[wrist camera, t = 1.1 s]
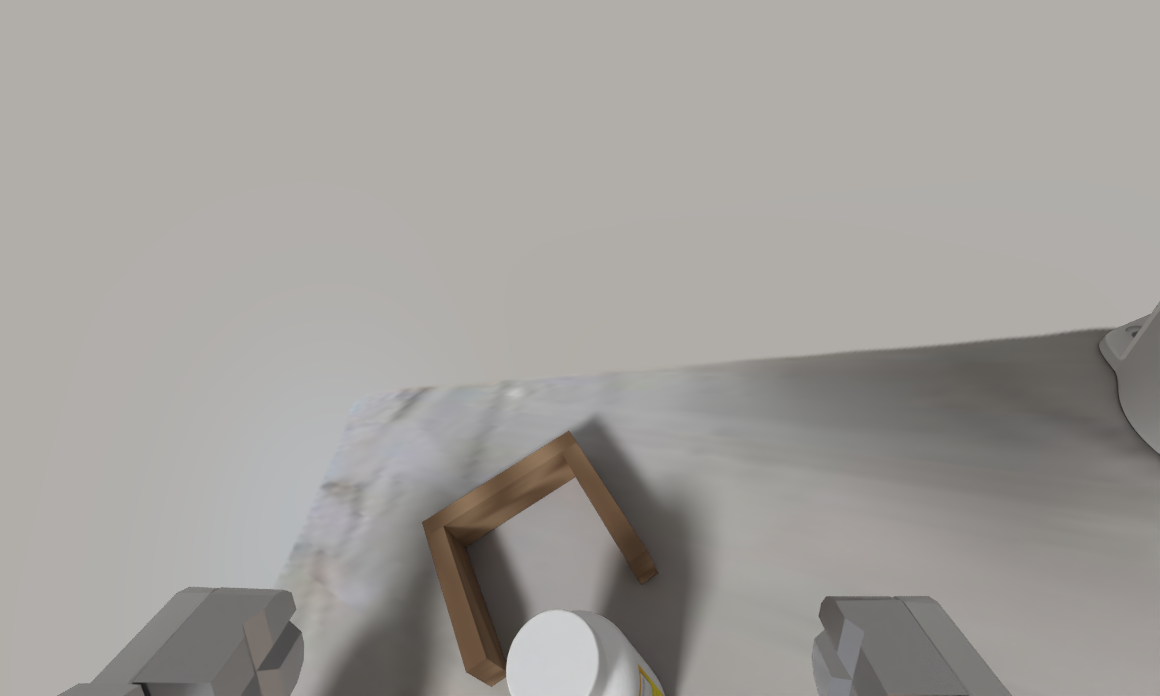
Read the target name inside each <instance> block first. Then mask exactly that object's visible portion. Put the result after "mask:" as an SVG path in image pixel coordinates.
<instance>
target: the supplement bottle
mask: <svg viewBox="0 0 1160 696" xmlns="http://www.w3.org/2000/svg"><path fill="white" fill-rule="evenodd" d="M506 677H507V684H508V688H509V691H510V694H511V696H665V694H664V691H663V688H662V686H661V684H660V682H659V680H658V678H657V677H656V675H655V674H654V672H653V671H652V670H651V668H650V667H649V666H648V664H647V663H646V662H645V661H644V659H643V658H642V657H641V656H640V655H639V653H638V652H637V651H636V650H635V648H634V647H633V646H632V645H631V643H630V642H629V641H628V640H627V638H626V637H625V636H624V634H623V633H622V632H621V631H620V630H619V628H618V627H617V626H615V625H614V624H613V623H612V622H611V621H609V620H608V619H606V618H605V617H603V616H601V615H598V614H596V613H593V612H588V611H568V610H562V609H553V610H548V611H544V612H542V613H540V614H538V615H536V616H534V617H533V618H532V619H530V620H529V621H528V622H527V623H526V624H525V625H524V626H523V627H522V628H521V629H520V631H519V632H518V633H517V635H516V637H515V638H514V640H513V642H512V645H511V647H510V650H509V654H508V658H507V665H506Z"/></svg>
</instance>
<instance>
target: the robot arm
mask: <svg viewBox="0 0 1160 696" xmlns="http://www.w3.org/2000/svg"><path fill="white" fill-rule="evenodd" d="M1099 348H1100V351H1101V353H1102V354H1103V356H1104V358H1105V359H1106V360H1107V362H1108V363H1109V364H1110V366H1111V367H1112V368H1113V369H1114V371H1115V372H1116V375H1117V378H1118V389H1119V398H1120V403H1121V406H1122V408H1123V411H1124V413H1125V415H1126V417H1127V419H1128V420H1129V422H1130V423H1131V425H1132V426H1133V428H1134V429H1135V430H1136V431H1137V433H1138V434H1139V435H1140V436H1141V437H1142V438H1143V439H1144V440H1145V441H1146V442H1147V443H1148V444H1149V445H1150V446H1151V447H1152V448H1153V449H1154V450H1155V451H1156V452H1157V453H1159V454H1160V302H1159V303H1158V305H1157V306H1156V308H1155V309H1154V310H1153V312H1152V313H1151V314H1150V315H1147V316H1145V317H1143V318H1140V319H1138V320H1136V321H1133V322H1131V323H1128V324H1126V325H1124V326H1121V327H1119V328H1117V329H1114V330H1112V331H1110V332H1108V333H1107V334H1106V335H1105V337H1104V338H1103V339H1102V340H1101V342H1100V343H1099ZM295 611H296V606H295V603H294V599H293V596H292V593H291V592H288V591H285V590H273V589H246V588H202V587H201V588H200V587H188V588H186V589H184V590H182V591H180V592H178V593H176V595H174V597H172V599H171V600H170V601H169V602H168V603H167V604H166V605H165V606H164V607H163V608H162V609H161V610H160V611H159V612H158V613H157V614H156V615H155V616H154V617H153V618H152V619H151V620H150V622H149V623H148V624H147V625H146V626H145V627H144V628H143V629H142V630H141V631H140V632H139V633H138V634H137V635H136V636H135V637H134V638H133V639H132V640H131V641H130V642H129V643H128V645H127V646H126V647H125V648H124V649H123V650H122V651H121V652H120V653H119V654H118V655H117V656H116V657H115V658H114V659H113V660H112V661H111V662H110V663H109V664H108V666H106V667H105V669H104V670H103V671H102V672H101V673H100V674H99V675H98V676H97V677H96V678H95V679H94V680H93V681H92V682H91V683H90V684H89V683H87V684H77V685H75V686H74V687H72V688H70V689H68V690H67V691H65V692H63V693H61V694H60V695H58V696H290V695H291V693H292V691H293V689H294V687H295V685H296V684H297V681H298V678H299V674H300V671H301V667H302V664H303V661H304V641H303V637H302V632H301V631H300V630H299V629H298V628H297V627H296V626H295V625H294V624H292V623H291V622H290V621H289V620H290V619H291V617H292V615H293V614H294V612H295ZM819 618H820V620H821V622H822V624H823V626H824V628H825V630H824V631H823V632H821V633H820V634H819V635H818V636H817V637H816V638H815V639H814V645H813V652H812V664H813V674H814V679H815V683H816V686H817V690H818V693H819V696H1012V695H1011V694H1010V693H1009V691H1008V690H1007V689H1006V688H1005V686H1004V685H1003V684H1002V682H1001V681H1000V680H999V679H998V677H997V676H996V675H995V674H994V672H993V671H992V670H991V669H990V667H989V666H988V665H987V664H986V662H985V661H984V660H983V658H982V657H981V656H980V655H979V653H978V652H977V651H976V650H975V648H974V647H973V646H972V645H971V643H970V642H969V641H968V640H967V638H966V637H965V636H964V634H963V633H962V632H961V631H960V629H959V628H958V627H957V626H956V624H955V623H954V622H953V621H952V619H951V618H950V617H949V616H948V614H947V613H946V612H945V610H944V609H943V608H942V607H941V605H940V604H939V603H938V602H937V601H935V600H934V599H932V598H931V597H929V596H894V597H889V596H826V597H825V599H824V600H823V602H822V603H821V607H820V612H819Z"/></svg>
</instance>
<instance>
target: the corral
mask: <svg viewBox="0 0 1160 696" xmlns="http://www.w3.org/2000/svg"><path fill="white" fill-rule="evenodd" d="M575 477H576V478H577V480H578V481H579V483H580V485H581V486H582V488H583V490H584V491H585V493H586V495H587V496H588V498H589V500H590V501H591V503H592V504H593V506H594V508H595V509H596V511H597V513H598V514H599V516H600V518H601V519H602V521H603V523H604V524H605V526H606V528H607V529H608V531H609V532H610V534H611V536H612V537H613V539H614V541H615V542H616V544H617V546H618V547H619V549H620V551H621V552H622V554H623V555H624V557H625V559H626V560H627V562H628V564H629V565H630V567H631V569H632V570H633V572H634V574H635V575H636V577H637V578H638V580H639V582H640V583H641V584H642V583H644V582H645V581H647V580H648V579H650V578H651V577H653V576H654V575H656V574H657V573H658V571H657V569H656V567H655V565H654V563H653V561H652V559H651V557H650V555H649V553H648V551H647V550H646V548H645V547H644V545H643V543H642V542H641V540H640V539H639V537H638V536H637V534H636V533H635V531H634V530H633V528H632V527H631V525H630V524H629V522H628V520H627V519H626V517H625V516H624V514H623V513H622V511H621V510H620V508H619V507H618V505H617V504H616V502H615V501H614V499H613V497H612V496H611V494H610V493H609V491H608V490H607V488H606V487H605V485H604V484H603V482H602V481H601V479H600V478H599V476H598V474H597V473H596V471H595V470H594V468H593V467H592V465H591V464H590V462H589V461H588V459H587V458H586V456H585V455H584V453H583V451H582V450H581V448H580V447H579V445H578V444H577V442H576V441H575V439H574V438H573V436H572V435H571V433H570V432H569V431H568V432H566V433H564V434H563V435H561V436H560V437H558V438H556V439H555V440H553V441H552V442H550V443H548V444H547V445H545V446H544V447H542V448H540V449H539V450H537V451H536V452H534V453H532V454H531V455H529V456H528V457H526V458H524V459H523V460H521V461H520V462H518V463H516V464H515V465H513V466H512V467H510V468H508V469H507V470H505V471H504V472H502V473H500V474H499V475H497V476H495V477H494V478H492V479H491V480H489V481H487V482H486V483H484V484H483V485H481V486H479V487H478V488H476V489H475V490H473V491H471V492H470V493H468V494H467V495H465V496H463V497H462V498H460V499H459V500H457V501H455V502H454V503H452V504H451V505H449V506H447V507H446V508H444V509H443V510H441V511H439V512H438V513H436V514H434V515H433V516H431V517H430V518H428V519H426V520H425V521H423V522H422V524H423V527H424V530H425V534H426V537H427V541H428V544H429V547H430V551H431V554H432V558H433V561H434V564H435V568H436V571H437V575H438V578H439V581H440V585H441V588H442V592H443V595H444V598H445V602H446V605H447V609H448V612H449V615H450V619H451V622H452V626H453V629H454V632H455V636H456V639H457V643H458V646H459V649H460V653H461V656H462V660H463V663H464V667H465V670H466V672H467V673H469V674H470V675H472V676H474V677H476V678H477V679H479V680H481V681H482V682H484V683H486V684H487V685H489V686H491V687H492V686H493V685H495V684H496V683H498V682H499V681H501V680H502V679H503V678H505V677H506V665H507V664H506V661H505V659H504V656H503V653H502V650H501V647H500V644H499V642H498V639H497V636H496V633H495V630H494V627H493V625H492V622H491V619H490V616H489V613H488V610H487V608H486V605H485V602H484V599H483V596H482V593H481V591H480V588H479V585H478V582H477V579H476V576H475V574H474V571H473V568H472V565H471V562H470V559H469V557H468V554H467V551H466V548H465V547H466V546H468V545H470V544H471V543H473V542H474V541H476V540H477V539H479V538H481V537H482V536H484V535H485V534H487V533H488V532H490V531H492V530H493V529H495V528H496V527H498V526H499V525H501V524H503V523H504V522H506V521H507V520H509V519H510V518H512V517H513V516H515V515H517V514H518V513H520V512H521V511H523V510H524V509H526V508H528V507H529V506H531V505H532V504H534V503H535V502H537V501H539V500H540V499H542V498H543V497H545V496H546V495H548V494H550V493H551V492H553V491H554V490H556V489H557V488H559V487H561V486H562V485H564V484H565V483H567V482H568V481H570V480H571V479H573V478H575Z"/></svg>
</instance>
